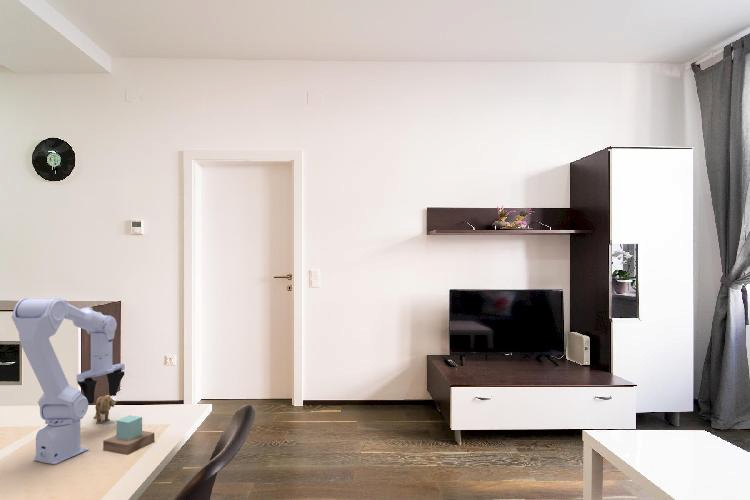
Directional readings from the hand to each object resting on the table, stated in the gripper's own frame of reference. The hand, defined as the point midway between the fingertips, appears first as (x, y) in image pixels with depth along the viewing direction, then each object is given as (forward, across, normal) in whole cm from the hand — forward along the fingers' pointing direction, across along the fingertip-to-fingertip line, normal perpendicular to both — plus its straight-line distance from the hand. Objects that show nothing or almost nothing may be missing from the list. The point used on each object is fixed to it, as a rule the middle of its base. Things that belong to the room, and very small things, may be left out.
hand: (101, 399), depth 138 cm
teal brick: (+7, -5, -17) cm, 19 cm away
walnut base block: (+10, -5, -17) cm, 20 cm away
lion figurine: (+10, +8, +9) cm, 16 cm away
